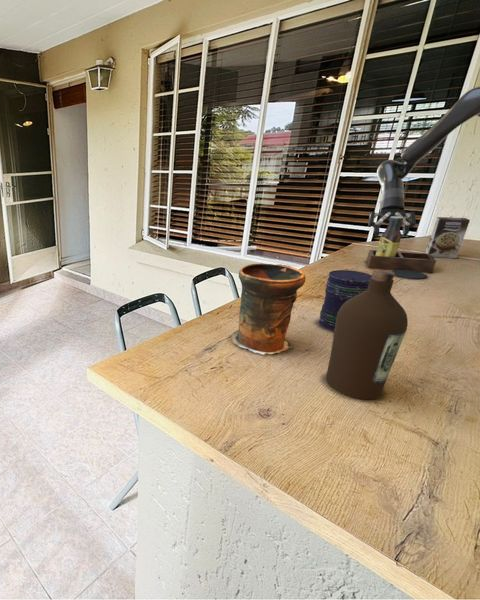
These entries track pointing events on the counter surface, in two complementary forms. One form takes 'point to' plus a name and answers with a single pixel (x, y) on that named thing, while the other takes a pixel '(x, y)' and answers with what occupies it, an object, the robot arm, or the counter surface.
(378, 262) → the tray
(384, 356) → the olive oil
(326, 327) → the storage jar
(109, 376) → the counter surface
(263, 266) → the vessel
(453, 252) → the cookie box
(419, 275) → the coaster
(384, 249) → the sauce bottle
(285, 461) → the counter surface
